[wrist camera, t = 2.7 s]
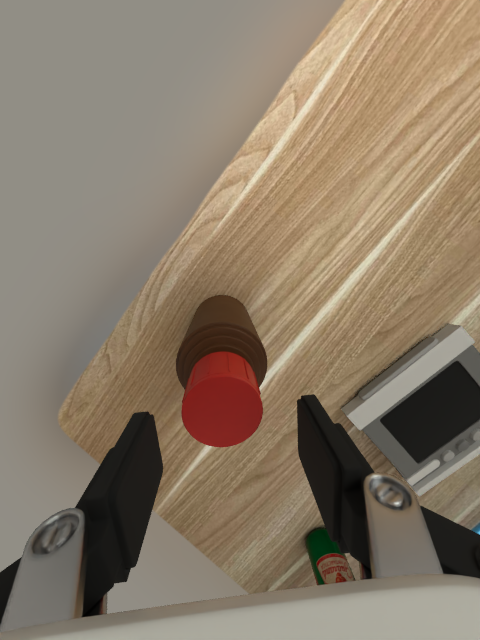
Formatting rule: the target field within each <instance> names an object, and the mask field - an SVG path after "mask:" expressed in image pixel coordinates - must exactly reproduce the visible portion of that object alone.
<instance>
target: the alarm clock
mask: <svg viewBox="0 0 480 640" xmlns="http://www.w3.org/2000/svg"><path fill="white" fill-rule="evenodd" d="M473 343H475V341H474V340H473V339H472V337H471V336H470V335H469V334H468V333H467V332H466V331H465V329H464V328H463V327H462V326H459V325H453V324H447V325H446V326H445V327H444V328H442V329H441V330H440V331H439V332H437V333H436V334H435V335H433V336H432V337H428V338H426V339H425V340H423V341H422V342H421V343H420V344H418V345H417V346H416V347H415V348H413V349H412V350H411V351H410V352H408V353H407V354H406V355H405V356H403V357H402V358H401V359H399V360H398V361H397V362H396V363H394V364H393V365H392V366H391V367H389V368H388V369H387V370H386V371H384V372H383V373H382V374H381V375H379V376H378V377H377V378H376V379H374V380H373V381H372V382H370V383H369V384H368V385H367V386H365V387H364V388H363V389H362V390H360V392H359V393H358V396H356V397H355V398H354V399H353V400H351V401H350V402H349V403H347V404H346V405H345V406H344V407H342V408H341V409H342V411H343V412H344V413H345V415H346V416H347V417H348V418H349V419H350V420H351V422H352V423H353V424H354V425H355V426H356V427H357V428H358V429H359V431H360V430H363V431H364V432H365V434H366V435H367V436H368V437H369V438H370V439H371V440H372V441H373V442H374V444H375V445H376V446H377V447H378V448H379V449H380V450H381V451H382V452H383V454H384V455H385V456H386V457H387V458H388V459H389V460H390V461H391V462H392V463H393V465H394V466H395V467H396V469H397V470H398V472H399V473H400V474H401V475H402V476H403V478H404V479H405V480H406V481H407V482H408V484H409V485H410V486H411V487H412V488H413V490H414V491H415V492H416V493H417V494H418V495H419V496H421V495H422V494H424V493H425V492H426V491H428V490H429V489H431V488H432V487H434V486H435V485H436V484H438V483H439V482H441V481H442V480H443V479H445V478H446V477H448V476H449V475H450V474H452V473H453V472H455V471H456V470H458V469H459V468H460V467H462V466H463V465H465V464H466V463H467V462H469V461H470V460H472V459H473V458H474V457H476V456H477V455H479V454H480V353H479V352H478V351H477V350H476V348H475V347H474V346H473V345H472V344H473Z"/></svg>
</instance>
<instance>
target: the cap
mask: <svg viewBox="0 0 480 640" xmlns="http://www.w3.org/2000/svg"><path fill="white" fill-rule="evenodd" d="M260 394H261V393H260V390H259V386H258V383H257V379H256V376H255V372H253V370H252V368H251V366H250V364H249V363H248V362H247V361H246V360H245V359H244V358H242V357H241V356H239V355H237V354H234V353H231V352H214V353H211V354H209V355H206V356H205V357H203V358H202V359H200V360H199V361H198V362H197V363H196V364H195V366H194V367H193V369H192V371H191V374H190V378H188V382H187V385H186V389H185V393H184V397H183V400H182V403H183V405H182V420H183V423H184V426H185V428H186V429H187V431H188V432H189V433H190V435H191V436H192V437H193V438H195V439H196V440H198V441H199V442H201V443H203V444H206V445H209V446H214V447H228V446H233V445H236V444H239V443H241V442H243V441H245V440H246V439H248V438H249V437H250V436H251V435H252V434H253V433H254V432H255V431H256V429H257V428H258V426H259V424H260V422H261V419H262V414H263V406H262V401H261V398H260Z"/></svg>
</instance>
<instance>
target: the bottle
mask: <svg viewBox="0 0 480 640" xmlns="http://www.w3.org/2000/svg"><path fill="white" fill-rule="evenodd" d="M214 352H231V353H234V354H237V355H239V356H241V357H242V358H244V359H245V360H246V361H247V362H248V363H249V364H250V366H251V368H252V370H253V372H255V376H256V379H257V383H258V386H259V387H260V385H261V384H262V382H263V380H264V378H265V375H266V371H267V356H266V352H265V349H264V347H263V345H262V342H261V340H260V338H259V336H258V334H257V332H256V330H255V327H254V325H253V323H252V321H251V319H250V317H249V315H248V312H247V310H246V309H245V307H244V306H243V304H242V303H241V302H239V301H238V300H237V299H235V298H233V297H230V296H226V295H218V296H213V297H211V298H208V299H207V300H205V301H204V302H203V303H202V304H201V305H200V306H199V307H198V309H197V311H196V313H195V315H194V318H193V320H192V322H191V324H190V326H189V329H188V331H187V333H186V335H185V337H184V340H183V342H182V344H181V346H180V348H179V351H178V354H177V359H176V371H177V375H178V378H179V381H180V383H181V384H182V386H183V388H184V389H186V385H187V382H188V378H190V374H191V371H192V369H193V367H194V366H195V364H196V363H197V362H198V361H199V360H200V359H202V358H203V357H205V356H206V355H209V354H211V353H214Z"/></svg>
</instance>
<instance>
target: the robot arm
mask: <svg viewBox="0 0 480 640" xmlns="http://www.w3.org/2000/svg"><path fill="white" fill-rule="evenodd" d="M297 418H298V453H299V457H300V460H301V463H302V466H303V468H304V471H305V474H306V476H307V479H308V481H309V484H310V487H311V489H312V492H313V495H314V497H315V500H316V503H317V505H318V508H319V511H320V513H321V516H322V519H323V521H324V524H325V527H326V529H327V532H328V535H329V537H330V540H331V541H332V542H337V544H338V547H339V550H340V552H341V554H343V553H350V555H351V556H352V557H354V558H355V559H356V560H358V561H359V568H360V579H361V580H356V581H348V582H340V583H333V584H325V585H317V586H309V587H301V588H294V589H286V590H278V591H270V592H263V593H255V594H248V595H240V596H233V597H226V598H218V599H212V600H203V601H196V602H189V603H182V604H175V605H167V606H160V607H153V608H146V609H139V610H132V611H124V612H117V613H110V614H107V592H108V591H109V590H110V589H111V588H112V587H113V586H114V583H120V582H126V581H127V579H128V575H129V572H130V569H131V568H133V567H135V566H136V564H137V561H138V557H139V554H140V550H141V547H142V543H143V540H144V536H145V533H146V529H147V526H148V522H149V519H150V515H151V512H152V508H153V505H154V501H155V498H156V494H157V491H158V487H159V484H160V480H161V477H162V472H163V463H162V458H161V453H160V447H159V442H158V436H157V431H156V426H155V420H154V416H153V415H150V414H149V412H138V413H134V414H133V415H132V417H131V419H130V421H129V422H128V424H127V426H126V427H125V429H124V431H123V433H122V434H121V436H120V438H119V440H118V441H117V443H116V445H115V447H113V448H111V449H110V450H109V452H108V453H107V455H106V456H105V458H104V460H103V461H102V463H101V465H100V467H99V468H98V470H97V472H96V473H95V475H94V477H93V479H92V480H91V482H90V483H89V485H88V487H87V488H86V490H85V492H84V494H83V495H82V497H81V499H80V500H79V502H78V504H77V505H76V507H75V508H69V509H66V510H62V511H60V512H58V513H56V514H54V515H52V516H51V517H49V518H48V519H47V520H45V521H44V522H43V523H42V524H41V525H40V526H39V527H38V528H36V529H35V531H34V532H33V534H32V535H31V536H30V537H29V539H28V541H27V543H26V546H25V548H24V552H23V555H22V557H21V558H20V559H18V560H17V561H15V562H14V563H13V564H11V565H10V566H8V567H7V568H6V569H4V570H3V571H2V572H0V640H480V535H479V534H477V533H475V532H473V531H471V530H469V529H467V528H465V527H463V526H461V525H459V524H457V523H455V522H453V521H451V520H449V519H447V518H445V517H443V516H441V515H439V514H437V513H435V512H433V511H430V510H428V509H426V508H424V507H422V506H420V505H419V502H418V499H417V497H416V495H415V493H414V491H413V490H412V489H411V488H410V487H409V486H408V485H407V484H406V483H405V482H403V481H402V480H401V479H399V478H397V477H395V476H393V475H390V474H387V473H380V472H377V473H375V472H374V471H373V469H372V468H371V467H370V465H369V464H368V462H367V461H366V459H365V458H364V457H363V455H362V454H361V452H360V451H359V449H358V448H357V447H356V445H355V444H354V442H353V441H352V439H351V438H350V437H349V435H348V434H347V432H346V431H345V429H344V428H343V427H342V425H341V424H339V423H336V424H334V423H333V422H332V420H331V419H330V417H329V416H328V414H327V413H326V411H325V410H324V408H323V407H322V405H321V404H320V402H319V400H318V399H317V397H316V396H315V395H304V396H301V399H298V400H297Z"/></svg>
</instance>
